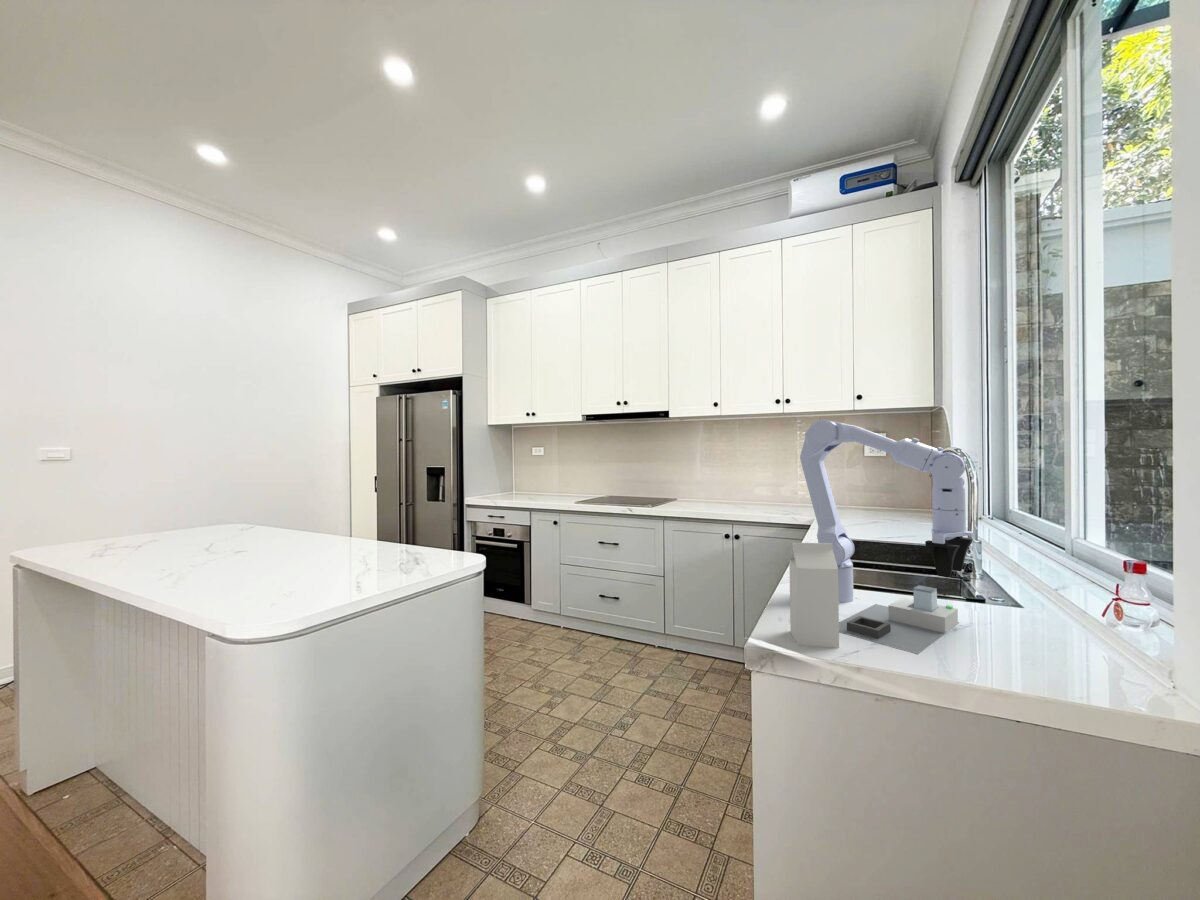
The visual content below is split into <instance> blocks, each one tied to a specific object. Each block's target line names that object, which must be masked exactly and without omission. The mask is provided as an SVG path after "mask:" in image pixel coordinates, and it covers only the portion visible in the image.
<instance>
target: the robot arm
mask: <svg viewBox="0 0 1200 900" xmlns="http://www.w3.org/2000/svg"><path fill="white" fill-rule="evenodd" d="M842 443H859V444H862V445H863V446H867V447H869V448H873V449H875V450H879V451H882V452H885V453H888V454H890V456H891V457H892V458H893V461H894V462H895V463H897V464H901V465H903V466H906V467H908V468H911V469H914V470H917V471H919V472H922V473H926V474H927V473H928V472H930V475H931V476H932V487H931V499H932V500H931V503H932V504H931V507H932V509H931V513H932V516H931V517H932V528H931V535H932V536H931V539H932V540H926V541H925V543H924V544H925V547H926V548H927V549H928V551H929V553H930V555H931V558H932V561H933V564H934V569H935V571H936V574H937V577H943V578H948V579H949V578H951V577H952V574H953V571H955V572H962V570H963V568H964V564H965V559H966V556H967V553H968V550H969V547H970V546H971V545H972V543H973V538H972V537H973V536H974V531H969V530H968V531H967V527H966V526H967V524H966V523H967V522H966V521H967V519H966V516H967V515H966V508H967V507H966V488H965V487H964V486H965V479H964V476H963V474H964V473H965V472H966V462H965V460H964V459H963V458H962V457H961V456H959V455H957V454H955V453H954V452H944V448H942V447H940V446H938V447H937V448H936V447H933V446H930V445H927V444H925V443H923V442H920V439H919V438H915V437H912V439H909V438H907V437H905V438H903V439H901V440H894V439H892V438H889V437H886V436H884V435H881V434H879V433H876V432H873V431H871V430H868V429H866V428H864V427H861V426H858V425H853V424H848V423H847V424H846V423H842V422H838V421H834V420H833V421H831V420H827V419H818V420H816V421H814V422H813V423H812V424H811V425H810V426H809V428H808V429H807V430H806V431H805V433H804V442H803V445H802V449H801V452H800V455H799V458H800V459H799V460H800V463H801V466H802V471H803V475H804V479H805V483H806V485H807V490H808V493H809V498H810V501H811V504H812V508H813V513H814V516H815V520H816V523H817V526H818V528H817V534H816V537H817V538H816V539H817V543H832V549H833V553H834V556H835V560H836V564H837V567H838V601H839V604H840V603H851V602H853V601H854V599H857V600H859V598H858V597H854V564H853V562H852V560H851V558H852V556H853V555H854V554H855V544H854V542H853V540H852V539H851V538H850V537H849V536H848V534H847V529H846V528H845V527H844V525H843V524H842V523H841V519H840V515H839V512H838V508H837V505H836V501H835V498H834V494H833V491H832V487H831V483H830V479H829V477H828V472H827V468H826V465H825V459H827V458H828V455H829V454H830V453H831V452H832V451H833V450H834V449H836V448H837V447H838V446H840V444H842ZM967 536H968V537H967ZM971 536H972V537H971Z"/></svg>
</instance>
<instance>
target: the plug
mask: <svg viewBox="0 0 1200 900" xmlns="http://www.w3.org/2000/svg"><path fill="white" fill-rule="evenodd" d="M913 600H914V608H915V609H919V610H924V611H929V612H932V611H934V610H935V609H937V605H938V588H935V587H930V586H925V585H920V584H918V585H917V586H915V587H913Z"/></svg>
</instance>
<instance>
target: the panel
mask: <svg viewBox="0 0 1200 900" xmlns="http://www.w3.org/2000/svg"><path fill="white" fill-rule="evenodd" d="M958 614H959V612H958V608H955V607H954V605H951V604H950V605H949V604H946V605H940V604H937V609H935V610H934V611H932V612H929V611H924V610H919V609H915V608H914V599H910V598H905V597H902V598H900V599H897V600H896V601H894V602H892V603H890V604H888V606H887V605H882V604H877V603H875V604H872V605H871V606H869V607H867V608H864V609H863V610H860V611H859V612H856V613H855V614H853V615H851V616H849V617H847V618H845V619H842V620H839V634H843V635H848V636H851V637H855V638H858V639H862V640H865V641H869V642H871V643H876V644H878V645H883V646H887V647H890V648H892V649H896V650H900V651H904V652H908V653H912V654H914V655H919V654H920V653H922V652H923V651H924V650H926V649H927V648H928V647H930V646H931V645H932V644H933V643H935V642H937V640H939V639H940V638H942V637H943V636H944V635H945V634H947V633H948V632H949V631H951V630H953V628H955V627H956V626H957V625H959V624H960V622H959V619H958V618H959V615H958Z"/></svg>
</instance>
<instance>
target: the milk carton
mask: <svg viewBox="0 0 1200 900" xmlns="http://www.w3.org/2000/svg"><path fill="white" fill-rule="evenodd" d="M791 545H792V549H791V552H790V555H789V563H788V565H789V617H790V618H789V619H790V620H789V621H790V623H789V624H790V633H791V635H792V637H793V639H794V640H795V643H796V644H797V646H805V647H819V648H821V647H822V648H837V649H839V648H840V633H839V622H840V618H839V616H840V612H839V611H840V610H839V609H840V608H839V607H840V606H839V605H840V603H839V601H838V567H837V564H836V560H835V556H834V553H833V549H832V543H818V542H792V543H791Z"/></svg>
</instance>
